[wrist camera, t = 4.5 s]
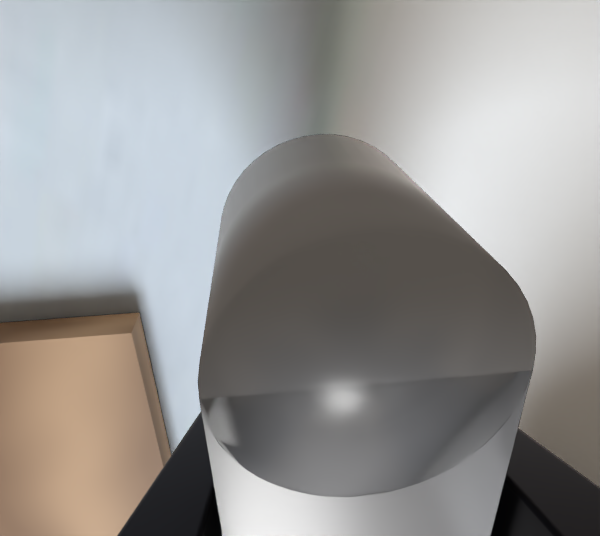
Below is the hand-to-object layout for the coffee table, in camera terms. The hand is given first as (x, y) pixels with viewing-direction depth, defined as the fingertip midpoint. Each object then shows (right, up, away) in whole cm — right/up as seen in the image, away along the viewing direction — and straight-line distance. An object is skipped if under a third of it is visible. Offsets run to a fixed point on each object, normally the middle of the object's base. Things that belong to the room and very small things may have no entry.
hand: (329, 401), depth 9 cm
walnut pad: (-11, -4, +9) cm, 15 cm away
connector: (0, -1, +2) cm, 2 cm away
